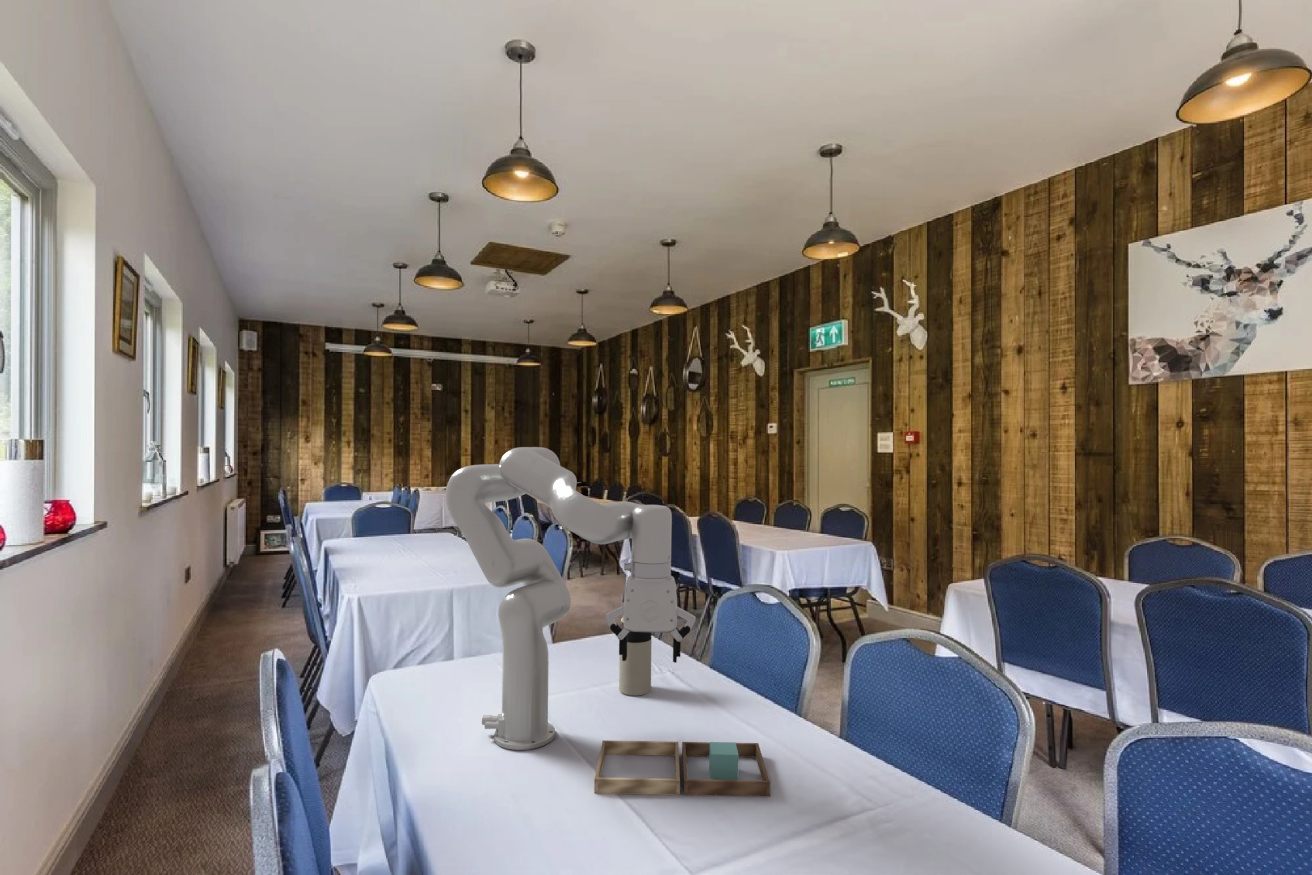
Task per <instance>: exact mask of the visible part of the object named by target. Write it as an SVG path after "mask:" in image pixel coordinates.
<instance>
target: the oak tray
mask: <svg viewBox="0 0 1312 875" xmlns="http://www.w3.org/2000/svg"><path fill="white" fill-rule="evenodd" d="M606 755H611V756H612V755H620V756H623V755H625V756H673V757H674V758H675V759H674V760H675V763H674V764H675V765H674V766H675V778H651V777H650V778H649V777H648V778H646V777H645V778H642V777H602V772H603V768H604V762H605V757H606ZM595 769H596V771H595V775H594V778H593V779H594V780H593V785H594V787H593V793H594V794H609V795H613V794H615V795H616V794H617V795H619V794H621V795H669V796H670V795H673V796H675V795H676V796H677V795H678V796H680V795H681V792H680V790H681V777H680V776H681V775H680V751H679V741H656V740H655V741H651V740H649V741H648V740H608V739H607V740H603V739H602V743H601V746H600V751H599V756H598V760H597V764H596V768H595Z"/></svg>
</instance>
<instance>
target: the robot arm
mask: <svg viewBox="0 0 1312 875" xmlns="http://www.w3.org/2000/svg"><path fill="white" fill-rule="evenodd" d="M577 482H578V481H577V477H576V475H575V473H574V472H572V471H571V470H570V469H566V468H565V467H563V466H561V462H560V460H559V457H558V456H557V454H556V453H555V452H554V451H553V450H550V449H549V448H546V447H539V446H531V447H529V446H526V447H525V446H522V447H521V446H519V447H514V448H511V449H510V450H508V451H507V452H505V453H504V454H503V455H502V456H501V459H500V460H499V463H494V464H493V463H492V464H491V463H489V464H487V463H486V464H473V465H468V466H467V465H466V466H464V467H461V468H459V469H457V470H456V471H455V472H454V473H452V474H451V476H450V478H449V480H448V482H447V485H446V488H445V489H446V490H445V491H446V492H445V501H446V507H447V510H448V512H449V514H450V516H451V518H452V520H453V522H454V523H455V525H456V526H457V528H458V529H459V530H460V532H461V534H462V535H463V537H464V539H465V541H466V543H467V544H468V547H469V549H470V550H471V552H472V554H473V556H474V558H475V560H476V562H477V564H478V566H479V568H480V569H481V572H482V573H483V575H484V577H485V578H486V580H487V582H488V584H490V585H491V586H492V587H495V588H499V589H500V588H501V589H502V588H507V587H511V586H515V585H518V584H521V583H522V585H523V586H520V587H517V588H515V589H513V590H510V592H508V593H507V594H506V595H504V597H502V599H501V601H500V603H499V606H498V610H497V611H498V623H499V628H500V633H501V634H500V635H501V641H502V644H501V645H502V681H501V682H502V684H501V685H502V686H501V687H502V688H501V689H502V690H501V691H502V696H501V698H502V699H501V713H498V714H497V715H491V714H490V715H489V714H483V715H482V719H481V725H482V726H484V729H485V730H493V729H495V731H494V735H493V737H494V738H493V740H494V742H495V743H496V745H497V746H499V747H502V748H504V749H507V750H515V751H523V750H524V751H525V750H527V751H528V750H533V749H534V750H535V749H537V748H541V747H543V746H545V745H547V744H549V743H550V742H552V741H553V739H554V738H555V737H556V727H555V726H554V725H553V724H552V723H550V722H549V664H550V663H549V647H548V643H547V640H546V637H545V635H544V633H543V628H545V627H547V626H550V625H551V624H552V625H553V624H555V623H557V622H559V621H561V620H563V619H564V618H566V616H568V613H569V612H570V610H571V605H572V601H571V600H572V599H571V598H572V597H571V594H570V591H569V588H568V587H567V586H568V585H567V584H566V581H564V579H563V576H561V573H560V571H559V569H558V568H557V566H556V564H555V563H554V561H553V559H552V557H551V555H550V553H549V552H548V550H547V549H546V548H545V546H544V545H543V544H541V543H540V542H539V541H537V540H535V539H533V538H520V539H519V538H518V539H514V538H512V536H511V535H510V534H509V531H508V530H507V529H506V527H505V524H504V522H503V521H502V520H501V518H500V517H499V516H498V515H497V514H496V513H495V512H494V511H493V510H491V509H490V508H489V507H488V506H487V505H486V503H487V504H488V503H494V502H505V501H509V500H513V499H517V498H519V497H522V496H523V495H527V496H530V497H531V498H533V499H535V500H537V501H538V502H540V503H541V504H543V505H545V506H546V507H548V508H550V509H551V511H552V514H553V516H554V517H555V518H556V520H557V521H558V522H559V524H561V525H562V526H563V527H564V528H565V529H567V530H568V531H570V532H572V533H574V534H576V535H577V536H579V537H580V538H582V539H584V540H586V541H588V542H591V543H593V544H595V545H607V544H611V543H615V542H619V541H624V540H628V539H631V561H630V562H627V563H624V564H623V570H624V571H627V572H629V573H631V574H630V575H628V577H627V579H626V583H625V589H624V597H623V598H624V599H623V601H624V602H623V605H621V606H619V607H618V608H615V609H614V610H611V611H610V612H607V613H606V614H605V615H604V616H605V617H604V618H605V621H606V622H607V624H608V627H609V629H610V631H611V632H612V633H613V634H614V635H615V636H616V637H617V639H618V643H619V644H618V655H619V656H620V655H622V661H625V660H626V659H627V641H628V637H627V634H628V633H629V631H631V632H652V633H653V634H654V633H657V634H659V633H661V634H662V633H663V634H664V633H665V634H667V633H668V634H669V633H670V634H671V635H672V637H673V638H672V639H673V640H672V643H673V644H672V662H673V663H676V664H677V662H678V661H677V658H681V651H682V650H681V649H682V647H681V642H682V640H683V639H684V638H685V637H687V635H688V634H689V633H690V632H691V629H692V628H693V626H694V624H695V623H696V622H697V621H696V620H697V619H696V618H697V617H696V616H695V615H694V614H692V613H690V612H688V611H686V610H684V609H683V608H681V607H679V606H678V597H677V587H676V581H675V580H676V579H675V577H674V576H672V572H671V571H672V569H671V568H672V528H673V527H672V525H673V521H672V520H673V516H672V510H671V509H670V507H668V506H666V505H660V504H642V503H641V504H640V503H636V502H632V501H625V500H622V501H621V500H620V501H613V502H606V503H600V502H597V501H594V500H593V499H590V498H589V497H587V496H586V495H583V494H581V493H580V492H579V491H578V490H577ZM622 615H623V616H622ZM620 616H622V618H623V625H624V626H623V625H622V627H620V626H619V624H618V623H616V620H615V618H618V617H620ZM678 617H680V618H682V619H683V620H685V621H686V623H685V624H684V625H683V626H682V627H681V628H678V626H677V624H678Z"/></svg>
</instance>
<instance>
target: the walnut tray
mask: <svg viewBox="0 0 1312 875" xmlns="http://www.w3.org/2000/svg"><path fill="white" fill-rule="evenodd" d="M710 742H711V741H709V742H708V741H682V743H681V748H682V749H681V756H682V757H681V758H682V759H681V760H682V776H683V777H682V779H683V795H684V796H719V797H720V796H721V797H722V796H726V797H727V796H728V797H729V796H730V797H771V781H770V776H769V774H768V771H767V768H766V764H765V762H764V761H765V760H764V757H763V754H762V750H761V747H760V744H759V742H736V746H737V751H738V758H740V757H741V758H745V757H746V758H755V760H756V763H757V767H758V771H759V774H760V777H761V780H759V779H758V780H756V779H755V780H754V779H753V780H751V779H738V780H711V779H702V778H701V779H699V778H697V779H696V778H694V779H693V778H688V765H687V764H688V763H687V757H689V756H690V757H709V748H710Z"/></svg>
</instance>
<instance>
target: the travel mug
mask: <svg viewBox="0 0 1312 875" xmlns="http://www.w3.org/2000/svg"><path fill="white" fill-rule="evenodd" d="M620 621H621V624H622V627H623V626H624V625H623V617H621V619H620ZM652 633H653V632H631V631H629V633H628V634H627V637H628V641H627V659H626V660H625V661H622V655H619V671H618V672H619V679H618V681H619V683H618V684H619V686H618V689H619V692H621V693H622V694H624V695H626V696H631V697H639V696H644V695H646V694H648V693H650V692H651V690H652Z"/></svg>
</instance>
